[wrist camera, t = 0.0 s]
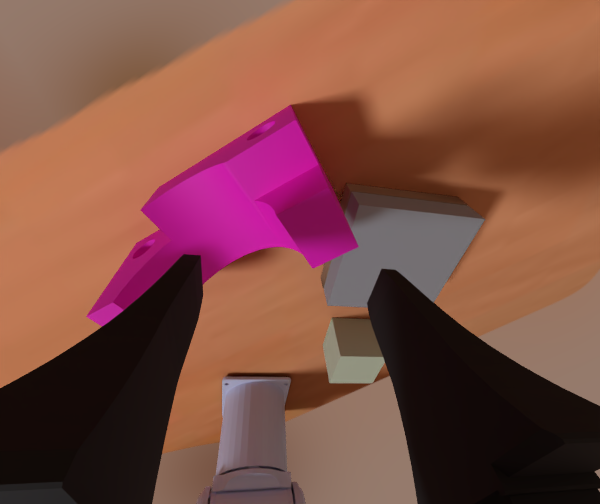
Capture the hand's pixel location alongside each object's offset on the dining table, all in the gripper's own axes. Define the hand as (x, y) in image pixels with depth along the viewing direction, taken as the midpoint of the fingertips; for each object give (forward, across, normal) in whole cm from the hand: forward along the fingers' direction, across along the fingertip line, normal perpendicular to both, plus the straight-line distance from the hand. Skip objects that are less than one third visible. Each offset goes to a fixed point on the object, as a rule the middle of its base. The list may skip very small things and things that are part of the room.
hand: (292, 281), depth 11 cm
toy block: (+11, +4, +2) cm, 12 cm away
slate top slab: (+9, -9, +4) cm, 13 cm away
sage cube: (+10, -9, +16) cm, 21 cm away
